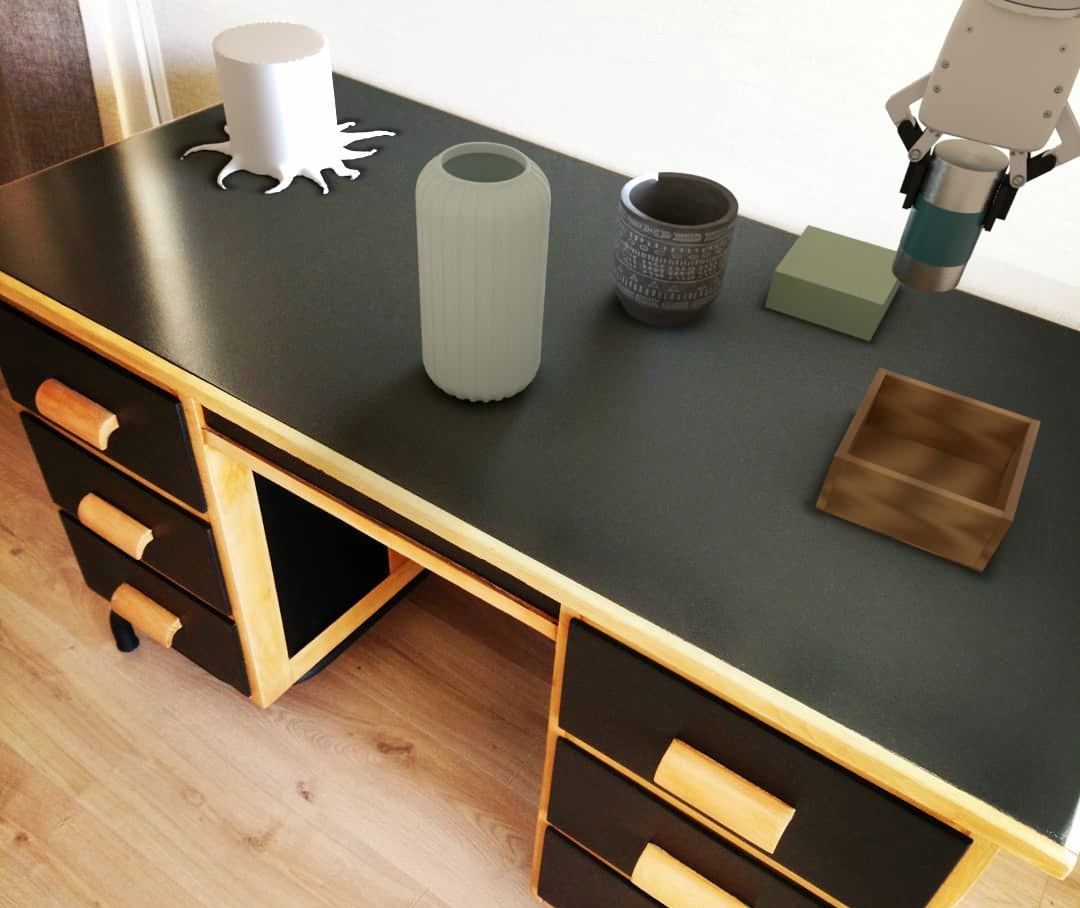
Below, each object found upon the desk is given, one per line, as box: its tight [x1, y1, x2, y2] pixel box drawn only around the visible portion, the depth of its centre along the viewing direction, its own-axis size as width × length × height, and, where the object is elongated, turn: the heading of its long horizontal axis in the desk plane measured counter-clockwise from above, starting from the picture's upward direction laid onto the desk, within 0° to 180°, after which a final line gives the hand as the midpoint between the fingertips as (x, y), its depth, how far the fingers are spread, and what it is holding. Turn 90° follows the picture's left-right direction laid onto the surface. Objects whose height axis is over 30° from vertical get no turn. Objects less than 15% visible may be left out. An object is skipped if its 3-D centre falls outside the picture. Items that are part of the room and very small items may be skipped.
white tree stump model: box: [180, 21, 396, 195], centre depth 120 cm, size 25×25×14 cm
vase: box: [414, 141, 552, 403], centre depth 86 cm, size 12×12×22 cm
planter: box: [609, 171, 740, 328], centre depth 100 cm, size 12×12×13 cm
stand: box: [764, 224, 902, 342], centre depth 105 cm, size 12×12×5 cm
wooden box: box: [814, 367, 1041, 573], centre depth 83 cm, size 15×15×7 cm
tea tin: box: [891, 138, 1010, 293], centre depth 80 cm, size 6×6×11 cm
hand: (949, 211), depth 80 cm, fingers closed on tea tin, 6 cm apart
